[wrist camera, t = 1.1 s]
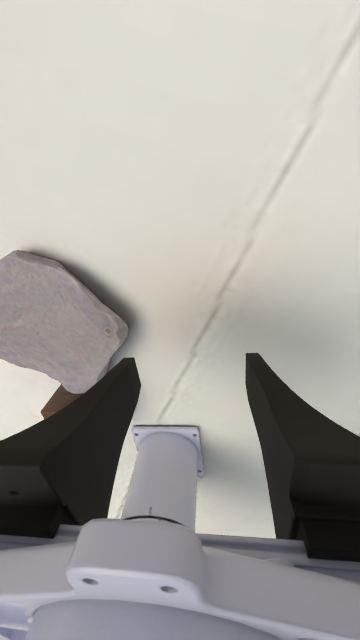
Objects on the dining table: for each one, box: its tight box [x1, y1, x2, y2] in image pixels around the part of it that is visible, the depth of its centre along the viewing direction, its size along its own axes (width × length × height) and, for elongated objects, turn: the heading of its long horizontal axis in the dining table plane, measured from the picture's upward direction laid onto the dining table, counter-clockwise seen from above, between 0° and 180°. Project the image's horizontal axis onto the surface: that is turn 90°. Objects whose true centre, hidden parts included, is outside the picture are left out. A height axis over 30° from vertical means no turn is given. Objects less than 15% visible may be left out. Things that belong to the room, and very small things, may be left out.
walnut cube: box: [41, 374, 106, 419], centre depth 24 cm, size 5×5×5 cm
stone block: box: [0, 250, 129, 394], centre depth 21 cm, size 12×5×10 cm
